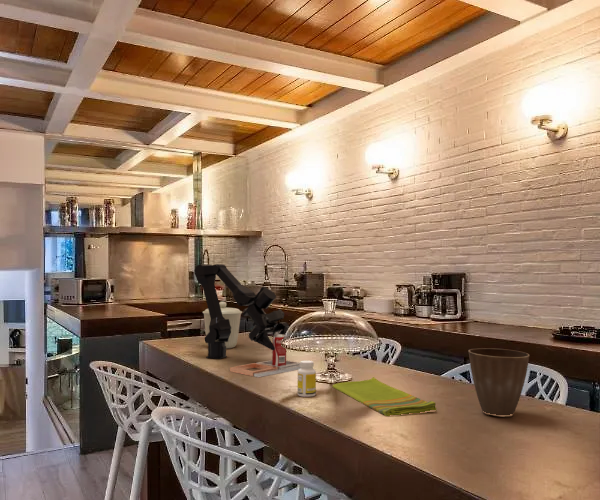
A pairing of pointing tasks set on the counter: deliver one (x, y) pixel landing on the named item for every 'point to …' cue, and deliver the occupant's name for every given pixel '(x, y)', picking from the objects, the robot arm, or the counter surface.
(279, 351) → the soda can
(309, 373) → the supplement bottle
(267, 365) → the socket rail
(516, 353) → the plant pot
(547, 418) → the counter surface
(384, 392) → the dish towel
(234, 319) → the canister
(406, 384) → the counter surface
